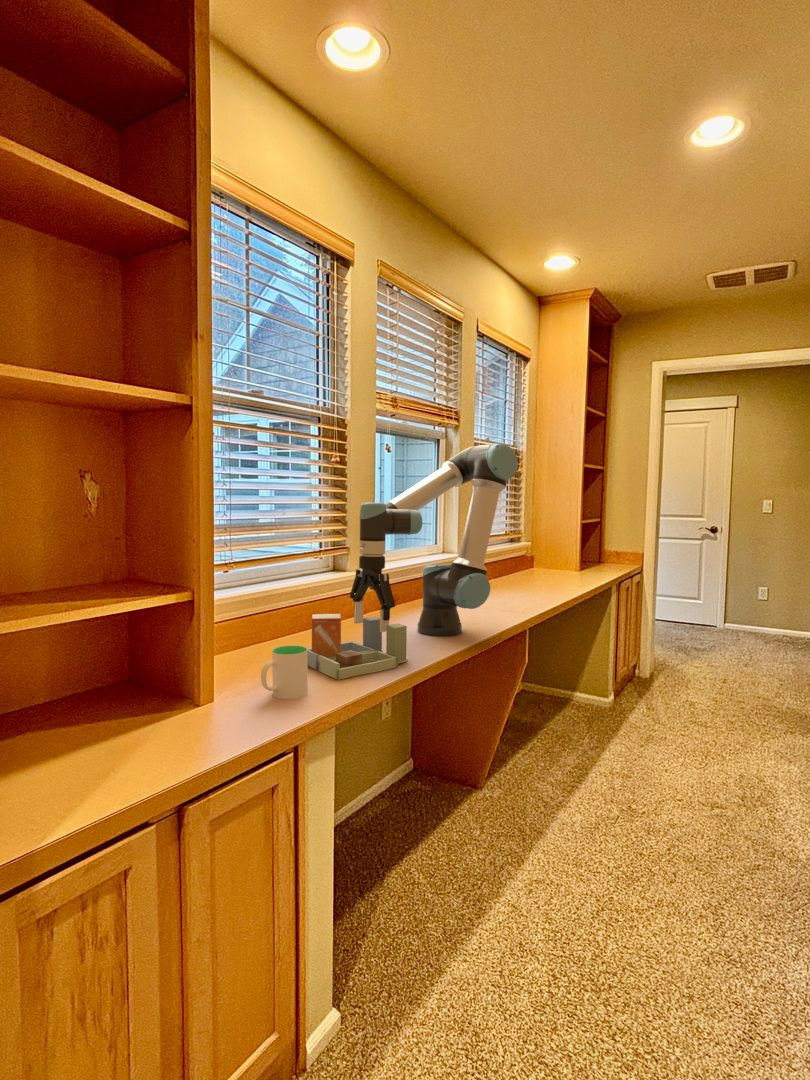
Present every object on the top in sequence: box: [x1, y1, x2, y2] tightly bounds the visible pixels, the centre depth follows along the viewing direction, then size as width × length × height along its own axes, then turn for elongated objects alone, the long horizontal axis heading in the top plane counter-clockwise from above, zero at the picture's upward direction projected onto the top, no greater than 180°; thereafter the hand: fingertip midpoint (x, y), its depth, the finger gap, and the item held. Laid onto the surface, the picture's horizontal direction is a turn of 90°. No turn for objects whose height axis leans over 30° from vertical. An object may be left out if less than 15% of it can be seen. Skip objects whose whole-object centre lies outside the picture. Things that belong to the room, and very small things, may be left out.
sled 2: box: [317, 623, 409, 680], centre depth 160 cm, size 24×10×10 cm, turn 127°
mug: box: [260, 645, 309, 700], centre depth 138 cm, size 12×8×10 cm, turn 144°
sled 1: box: [294, 616, 384, 671], centre depth 170 cm, size 24×13×10 cm, turn 127°
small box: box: [311, 613, 342, 658], centre depth 167 cm, size 8×6×13 cm
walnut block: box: [336, 650, 363, 668], centre depth 157 cm, size 5×5×5 cm
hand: (371, 627), depth 175 cm, fingers open, 13 cm apart
